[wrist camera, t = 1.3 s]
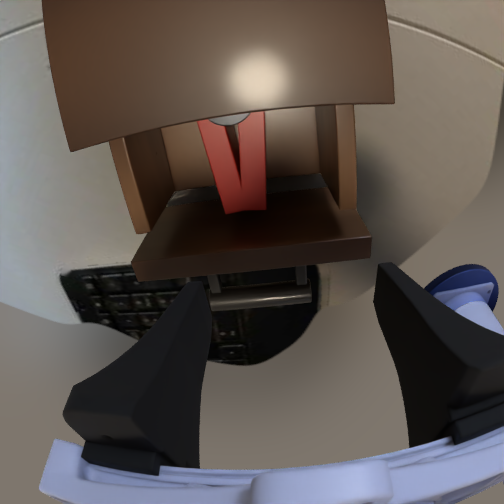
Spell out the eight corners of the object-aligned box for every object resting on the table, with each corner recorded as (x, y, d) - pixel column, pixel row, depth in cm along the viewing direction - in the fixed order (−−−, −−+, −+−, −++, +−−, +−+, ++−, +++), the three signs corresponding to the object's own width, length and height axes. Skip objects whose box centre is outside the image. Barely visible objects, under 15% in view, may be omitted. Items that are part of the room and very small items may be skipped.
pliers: (253, 29, 13) (252, 19, 10) (274, 187, 18) (278, 213, 15) (193, 39, 14) (177, 32, 11) (220, 193, 18) (213, 221, 16)
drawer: (341, 261, 22) (363, 325, 17) (183, 277, 23) (164, 342, 18) (322, -13, 13) (352, -46, 7) (121, 21, 14) (65, 10, 8)
